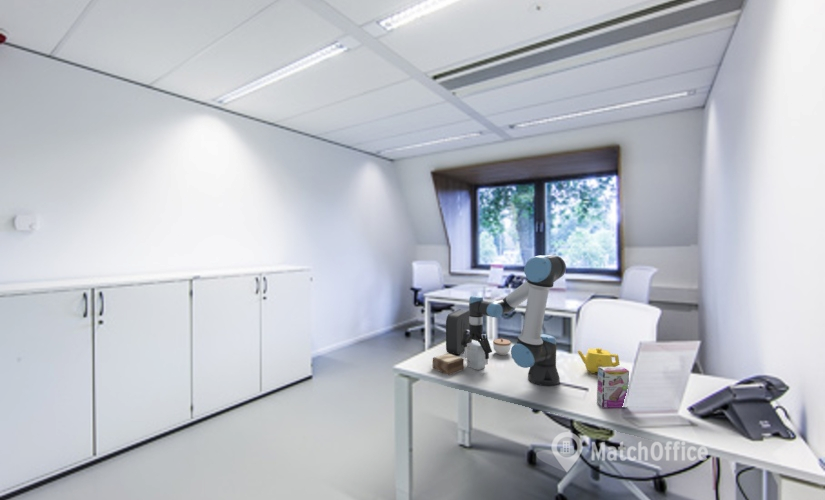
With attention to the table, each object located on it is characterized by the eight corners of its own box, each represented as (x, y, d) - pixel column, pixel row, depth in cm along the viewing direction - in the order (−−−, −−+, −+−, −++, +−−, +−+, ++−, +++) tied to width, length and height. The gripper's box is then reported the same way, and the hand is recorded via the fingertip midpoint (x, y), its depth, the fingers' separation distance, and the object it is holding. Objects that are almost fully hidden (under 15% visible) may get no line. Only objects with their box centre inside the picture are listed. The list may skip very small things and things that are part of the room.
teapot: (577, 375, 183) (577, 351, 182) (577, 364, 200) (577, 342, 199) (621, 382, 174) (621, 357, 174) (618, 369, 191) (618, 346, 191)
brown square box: (463, 369, 192) (463, 357, 192) (448, 375, 185) (448, 363, 184) (447, 363, 201) (447, 352, 201) (432, 368, 194) (432, 357, 193)
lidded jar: (512, 352, 220) (512, 337, 220) (507, 357, 211) (507, 342, 211) (496, 349, 226) (496, 335, 225) (490, 354, 217) (490, 339, 216)
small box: (485, 367, 195) (485, 344, 194) (477, 370, 191) (477, 346, 190) (474, 363, 201) (474, 341, 201) (466, 366, 197) (466, 343, 197)
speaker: (462, 344, 237) (462, 307, 236) (474, 346, 233) (474, 309, 232) (445, 355, 216) (445, 315, 215) (458, 357, 211) (458, 316, 210)
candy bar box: (603, 409, 147) (603, 370, 147) (596, 403, 152) (596, 366, 152) (628, 408, 148) (629, 370, 147) (621, 403, 153) (622, 366, 152)
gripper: (498, 326, 188) (498, 365, 189) (463, 318, 207) (463, 354, 208) (490, 329, 183) (489, 369, 184) (454, 320, 202) (454, 356, 203)
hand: (475, 361), depth 196 cm, fingers open, 13 cm apart
